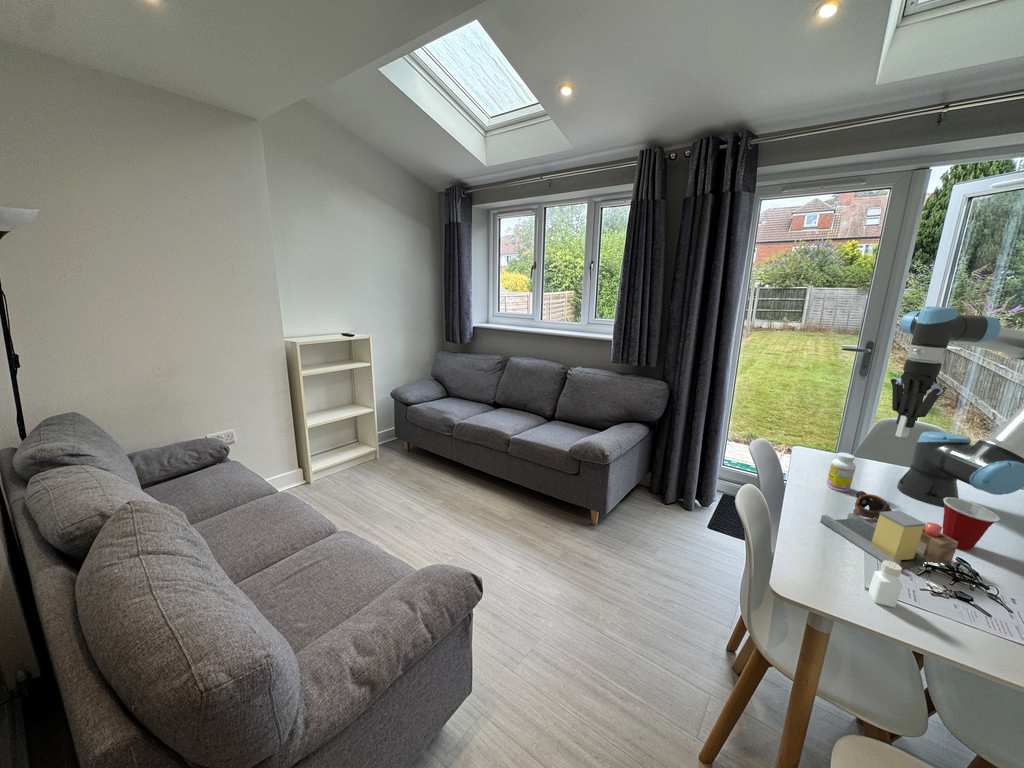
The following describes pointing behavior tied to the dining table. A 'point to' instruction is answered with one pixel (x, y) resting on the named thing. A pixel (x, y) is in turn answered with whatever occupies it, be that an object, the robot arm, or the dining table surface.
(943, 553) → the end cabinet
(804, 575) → the dining table surface
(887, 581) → the white pill bottle
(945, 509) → the plastic cup
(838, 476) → the supplement bottle
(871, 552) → the track
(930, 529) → the ball
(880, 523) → the carriage
